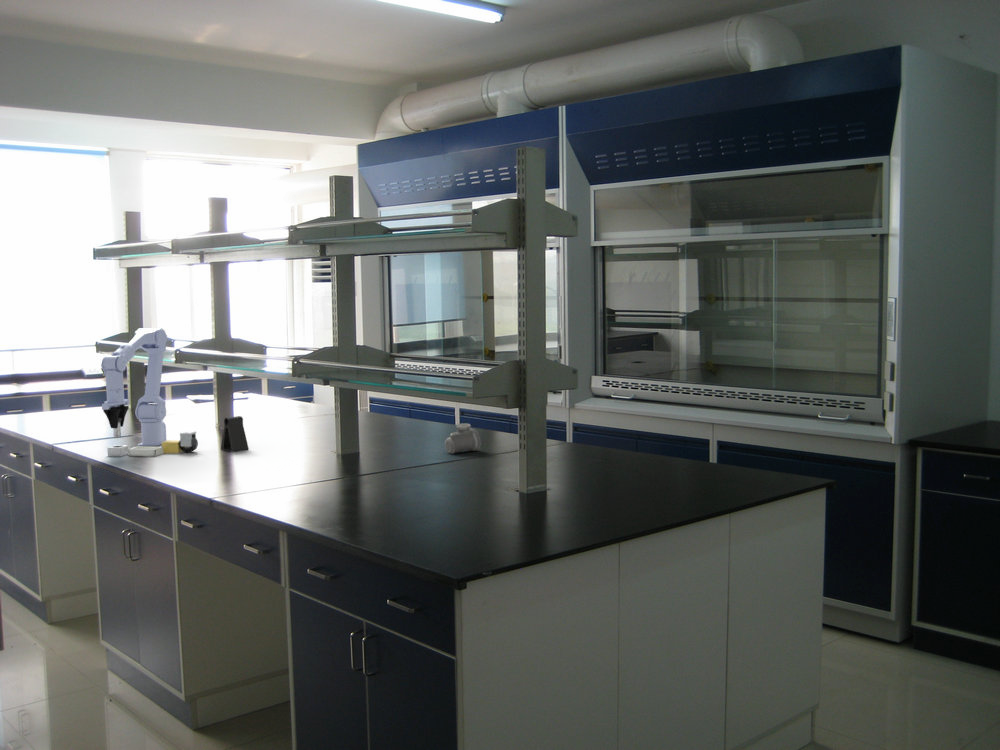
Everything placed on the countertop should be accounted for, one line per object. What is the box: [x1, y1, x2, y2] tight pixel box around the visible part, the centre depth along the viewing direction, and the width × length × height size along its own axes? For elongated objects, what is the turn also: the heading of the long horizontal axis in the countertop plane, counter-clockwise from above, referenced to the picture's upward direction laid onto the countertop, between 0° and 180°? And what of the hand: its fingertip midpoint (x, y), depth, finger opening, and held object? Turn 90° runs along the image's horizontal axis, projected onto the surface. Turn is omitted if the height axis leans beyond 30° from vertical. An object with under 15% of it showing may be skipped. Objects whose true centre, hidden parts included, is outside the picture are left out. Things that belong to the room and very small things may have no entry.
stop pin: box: [112, 417, 122, 439], centre depth 319 cm, size 3×3×7 cm
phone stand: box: [220, 415, 250, 453], centre depth 328 cm, size 9×6×12 cm, turn 49°
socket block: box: [107, 444, 129, 457], centre depth 320 cm, size 5×5×3 cm
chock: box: [161, 439, 183, 454], centre depth 325 cm, size 4×6×4 cm, turn 84°
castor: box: [178, 430, 199, 454], centre depth 324 cm, size 4×6×7 cm
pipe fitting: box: [444, 422, 482, 455], centre depth 320 cm, size 12×8×10 cm
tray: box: [128, 445, 165, 457], centre depth 320 cm, size 6×10×2 cm, turn 83°
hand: (117, 427), depth 319 cm, fingers closed on stop pin, 3 cm apart
